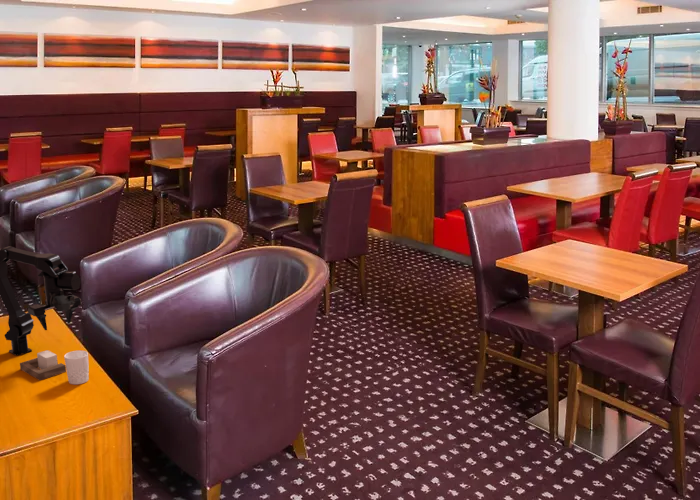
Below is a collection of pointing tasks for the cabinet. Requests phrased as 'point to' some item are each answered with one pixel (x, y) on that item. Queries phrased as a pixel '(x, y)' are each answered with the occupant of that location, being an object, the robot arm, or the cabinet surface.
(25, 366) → the notched board
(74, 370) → the white cup
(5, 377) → the cabinet surface
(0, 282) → the robot arm
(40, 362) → the block
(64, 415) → the cabinet surface
